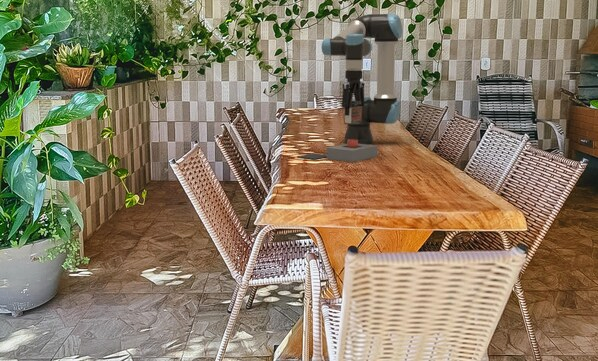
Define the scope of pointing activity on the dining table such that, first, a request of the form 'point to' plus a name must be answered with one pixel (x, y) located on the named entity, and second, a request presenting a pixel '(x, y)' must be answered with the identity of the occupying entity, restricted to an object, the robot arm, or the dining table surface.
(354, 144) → the red dome button
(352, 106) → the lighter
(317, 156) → the mat
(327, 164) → the dining table surface
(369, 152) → the button panel
